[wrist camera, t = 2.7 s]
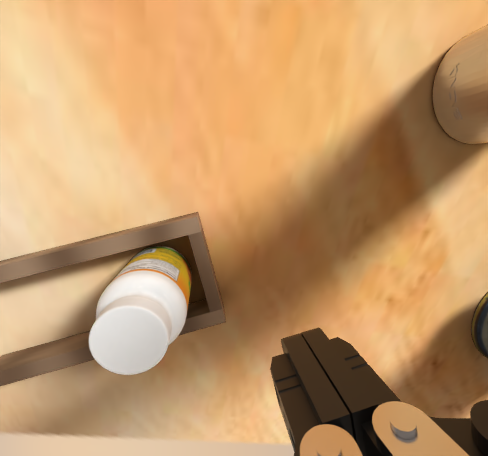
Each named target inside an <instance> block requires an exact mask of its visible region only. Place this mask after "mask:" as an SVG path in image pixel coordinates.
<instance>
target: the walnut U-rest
mask: <svg viewBox="0 0 488 456" xmlns="http://www.w3.org/2000/svg"><path fill="white" fill-rule="evenodd" d="M187 235H188V237H189V240H190V244H191V247H192V251H193V254H194V258H195V261H196V265H197V268H198V272H199V275H200V279H201V282H202V286H203V289H204V293H205V296H206V299H205V300H201V301H198V302H194V303H190V304H188V310H187V316H186V320H185V324H184V326H183V328H182V331H181V332H180V334H179V335H182V334H185V333H189V332H192V331H196V330H199V329H203V328H206V327H210V326H214V325H217V324H221V323H224V322H226V320H225V312H224V305H223V302H222V298H221V294H220V291H219V287H218V283H217V280H216V276H215V272H214V269H213V265H212V261H211V258H210V254H209V250H208V247H207V243H206V239H205V236H204V232H203V228H202V225H201V221H200V217H199V214H198V212H196V213H192V214H188V215H184V216H180V217H176V218H172V219H168V220H164V221H160V222H156V223H152V224H148V225H144V226H140V227H136V228H131V229H127V230H123V231H119V232H115V233H111V234H107V235H103V236H99V237H95V238H91V239H87V240H83V241H79V242H75V243H71V244H67V245H63V246H59V247H55V248H51V249H47V250H43V251H39V252H35V253H31V254H27V255H23V256H19V257H15V258H11V259H7V260H3V261H0V283H2V282H6V281H10V280H14V279H18V278H22V277H26V276H29V275H33V274H37V273H41V272H45V271H49V270H53V269H57V268H61V267H65V266H69V265H73V264H77V263H81V262H84V261H88V260H92V259H96V258H100V257H104V256H108V255H112V254H116V253H120V252H124V251H128V250H132V249H136V248H139V247H143V246H147V245H151V244H155V243H159V242H163V241H167V240H171V239H175V238H179V237H183V236H187ZM89 334H90V331H89V332H85V333H82V334H78V335H74V336H71V337H67V338H64V339H60V340H56V341H53V342H49V343H45V344H42V345H38V346H35V347H31V348H27V349H24V350H20V351H16V352H13V353H9V354H6V355H2V356H1V357H0V386H3V385H6V384H10V383H13V382H17V381H20V380H24V379H27V378H31V377H34V376H38V375H41V374H45V373H48V372H52V371H55V370H59V369H62V368H66V367H69V366H73V365H76V364H80V363H83V362H87V361H90V360H94V357H93V356H92V354H91V351H90V348H89Z"/></svg>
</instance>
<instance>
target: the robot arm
mask: <svg viewBox="0 0 488 456" xmlns="http://www.w3.org/2000/svg"><path fill="white" fill-rule="evenodd" d="M433 105H434V111H435V114H436V117H437V119H438V122H439V123H440V125H441V126H442V128H443V129H444V131H445V132H446V133H447V134H448V135H450V136H451V137H452V138H454V139H456V140H457V141H459V142H463V143H467V144H479V143H488V24H487V25H486V26H484V27H482V28H480V29H478V30H476V31H474V32H473V33H471V34H469V35H467V36H465V37H463V38H462V39H461V40H459V41H458V42H457V43H456V44H454V45H453V47H452V48H451V49H450V50H449V51H448V52H447V53H446V55H445V57H444V58H443V60H442V62H441V63H440V65H439V68H438V71H437V73H436V76H435V81H434V86H433ZM281 343H282V348H283V352H284V354H282V355H278V356H275V357H272V363H271V368H270V370H271V374H272V378H273V382H274V386H275V390H276V395H277V399H278V403H279V406H280V409H281V412H282V415H283V418H284V421H285V424H286V427H287V430H288V434H289V437H290V440H291V443H292V446H293V448H294V452H295V453H294V456H488V400H485V401H480V402H478V403H476V404H475V405H474V406H473V407H472V409H471V419H456V418H433V417H429V416H427V415H426V414H425V413H424V412H423V411H421V410H420V409H418V408H417V407H415V406H413V405H410V404H408V403H404V402H401V401H400V400H399V399H398V398H397V397H396V395H395V394H394V393H393V392H392V391H391V390H390V389H389V387H388V386H387V385H386V384H385V383H384V382H383V381H382V379H381V378H380V377H379V376H378V375H377V374H376V373H375V371H374V370H373V369H372V368H371V367H370V366H369V365H368V364H367V362H366V361H365V360H364V359H363V358H362V357H361V356H360V355H359V353H358V352H357V351H356V350H355V349H354V347H353V346H352V345H351V344H350V343H348V342H346V341H344V340H342V339H340V338H338V337H337V338H333V339H330V340H329V339H328V337H327V336H326V335H325V334H324V332H323V331H322V330H321V329H320V328H316V329H312V330H309V331H306V332H302V333H299V334H296V335H293V336H289V337H286V338H283V339H281Z"/></svg>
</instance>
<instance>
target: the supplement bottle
mask: <svg viewBox="0 0 488 456" xmlns="http://www.w3.org/2000/svg"><path fill="white" fill-rule="evenodd" d="M191 282H192V272H191V267H190V265H189V263H188V261H187V260H186V258H185V257H184V256H183V255H182V254H181V253H179V252H178V251H176V250H175V249H172V248H170V247H166V246H153V247H149V248H146V249H144V250H142V251H140V252H139V253H138V254H136V255H135V256H134V257H133V258H132V259H131V260H130V261H129V263H128V264H127V265H126V266H125V267H124V268H123V269H122V271H121V272H120V273H119V274H118V275H117V276H116V277H115V278H114V279H113V281H112V282H111V283H110V284H109V285H108V286H107V287H106V289H105V290H104V292H103V293H102V295H101V297H100V299H99V301H98V304H97V309H96V321H95V322H94V324H93V326H92V328H91V330H90V334H89V348H90V351H91V354H92V356H93V357H94V359H95V360H96V361H97V363H98V364H100V365H101V366H102V367H103V368H105V369H107V370H109V371H111V372H113V373H117V374H122V375H134V374H139V373H142V372H145V371H147V370H149V369H151V368H152V367H154V366H155V365H156V364H158V363H159V362H160V360H161V359H162V358H163V356H164V355H165V353H166V351H167V348H168V345H169V344H171V343H172V342H173V341H174V340H175V339H176V338H177V337H178V335H179V334H180V332H181V331H182V328H183V326H184V324H185V320H186V316H187V310H188V303H189V296H190V289H191Z"/></svg>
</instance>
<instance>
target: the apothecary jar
mask: <svg viewBox="0 0 488 456" xmlns="http://www.w3.org/2000/svg"><path fill="white" fill-rule="evenodd" d="M471 331H472V337H473V341H474V344H475V346H476V348H477V349H478V350H479V351H480V352H481V353H482V354H483V355H484V356H485V357H487V358H488V293H487V294H486V295H485V296H484V298H483V299H482V300H481V302H480V303H479V305H478V307H477V309H476V311H475V314H474V317H473V321H472V328H471Z"/></svg>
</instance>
